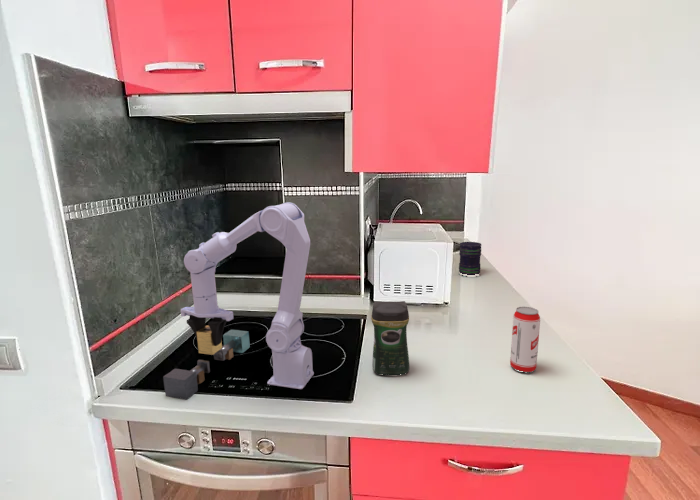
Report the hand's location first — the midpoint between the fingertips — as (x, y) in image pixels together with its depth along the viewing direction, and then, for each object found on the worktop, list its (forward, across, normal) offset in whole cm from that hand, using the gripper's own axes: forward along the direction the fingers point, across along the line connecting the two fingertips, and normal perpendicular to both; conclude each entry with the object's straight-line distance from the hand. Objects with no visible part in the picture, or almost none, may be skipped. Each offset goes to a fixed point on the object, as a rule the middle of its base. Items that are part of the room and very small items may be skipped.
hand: (209, 343), depth 105 cm
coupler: (+2, 0, 0) cm, 2 cm away
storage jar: (+8, -65, -108) cm, 127 cm away
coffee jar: (+8, -46, -12) cm, 48 cm away
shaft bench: (+7, 0, 0) cm, 7 cm away
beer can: (+7, -79, -20) cm, 82 cm away
